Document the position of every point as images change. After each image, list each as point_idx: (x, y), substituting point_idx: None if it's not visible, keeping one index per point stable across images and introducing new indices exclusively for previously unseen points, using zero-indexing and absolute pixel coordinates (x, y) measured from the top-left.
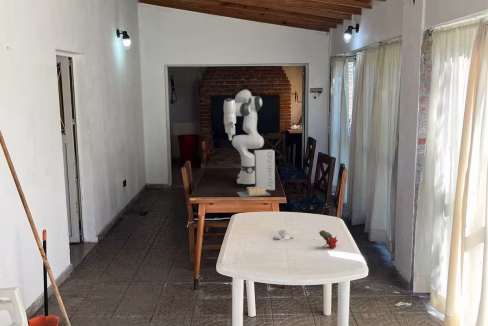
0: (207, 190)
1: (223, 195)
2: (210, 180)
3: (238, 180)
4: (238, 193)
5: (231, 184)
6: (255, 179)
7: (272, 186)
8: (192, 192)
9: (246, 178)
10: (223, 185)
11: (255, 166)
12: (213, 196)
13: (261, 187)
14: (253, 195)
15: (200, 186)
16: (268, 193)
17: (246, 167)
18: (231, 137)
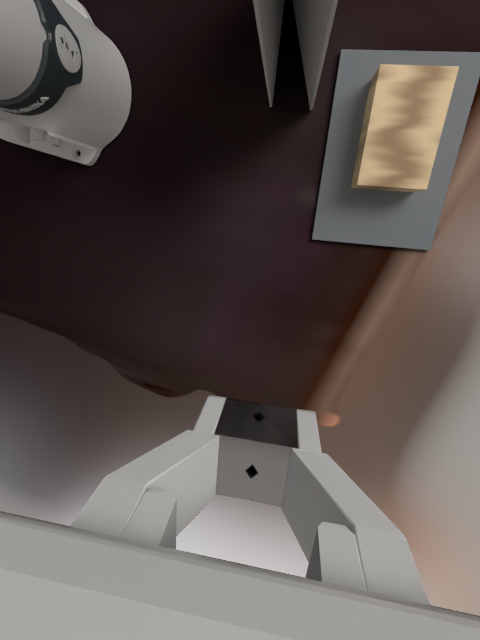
0: (207, 347)
1: (335, 313)
2: (2, 278)
3: (47, 144)
4: (347, 238)
5: (110, 204)
6: (269, 77)
7: None
8: None
9: (102, 104)
10: (124, 251)
11: (261, 16)
12: (333, 357)
13: (410, 86)
14: (436, 172)
15: (120, 352)
16: (438, 56)
17: (49, 70)
18: (333, 476)
